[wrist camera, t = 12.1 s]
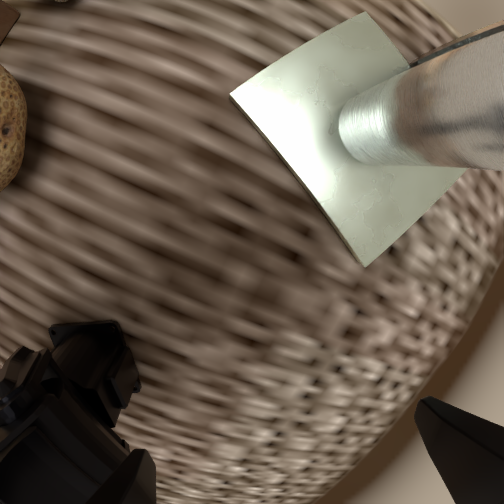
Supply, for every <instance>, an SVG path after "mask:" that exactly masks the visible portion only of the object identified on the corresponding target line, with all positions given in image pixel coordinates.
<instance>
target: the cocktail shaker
mask: <svg viewBox="0 0 504 504" xmlns="http://www.w3.org/2000/svg"><path fill="white" fill-rule="evenodd" d="M339 133H340V136H341V139H342V142H343V144H344V146H345V147H346V149H347V150H348V152H349V153H350V154H351V155H352V156H353V157H354V158H356V159H357V160H359V161H360V162H362V163H365V164H367V165H373V166H434V167H456V168H472V169H486V170H497V171H504V31H502V32H499V33H496V34H494V35H491V36H488V37H485V38H483V39H480V40H477V41H475V42H472V43H469V44H467V45H464V46H462V47H459V48H457V49H454V50H452V51H449V52H447V53H445V54H442V55H440V56H438V57H435V58H433V59H431V60H429V61H426V62H424V63H422V64H420V65H417V66H415V67H413V68H411V69H409V70H407V71H404V72H402V73H400V74H398V75H396V76H394V77H392V78H390V79H388V80H386V81H384V82H382V83H380V84H378V85H376V86H374V87H372V88H370V89H368V90H366V91H364V92H362V93H360V94H358V95H356V96H355V97H353V98H351V99H350V100H349V101H347V102H346V104H345V105H344V106H343V108H342V110H341V113H340V116H339Z"/></svg>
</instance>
